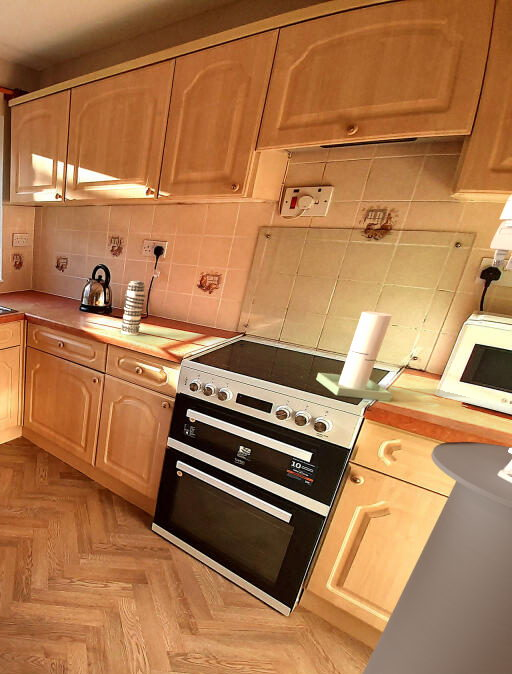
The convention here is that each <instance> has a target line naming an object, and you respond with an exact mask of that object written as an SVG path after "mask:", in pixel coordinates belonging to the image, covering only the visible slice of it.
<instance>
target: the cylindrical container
mask: <svg viewBox="0 0 512 674" xmlns="http://www.w3.org/2000/svg"><path fill="white" fill-rule="evenodd" d="M392 317H393V315H392V314H390V313H386V312H379V311H368V310H367V311H362V312H361V315H360V318H359V321H358V324H357V327H356V330H355V332H354V336H353V339H352V341H351V345H350V348H349V351H348V354H347V356H346V360H345V362H344V366H343V369H342V370H341V374H340V375H341V377H340V380H339V383H338V386H339V387H341V388H351V389H361V390H365V389H366V386H367V383H368V381H369V379H370V377H371V375H372V373H373V369H374V366H375V364H376V361H377V358H378V355H379V353H380V351H381V347H382V345H383V341H384V339H385V335H386V333H387V332H388V331H387V330H388V328H389V326H390V322H391V319H392Z"/></svg>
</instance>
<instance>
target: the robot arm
mask: <svg viewBox="0 0 512 674" xmlns="http://www.w3.org/2000/svg"><path fill="white" fill-rule="evenodd" d="M498 220H500V221H502V222H501V223H500V224H499V226H498V228H497V230H496V232H495V234H494V236H493V238H492V241H491V242H490V247H489V248H490V249H491V250H495V251H494V255H493V261H492V264H491V267H492V268H502V267H504V269H505V270H508V271H509V270H510V271H512V193H511V194H510V195H509V196H508V198H507V200H506V202H505V204H504V207H503V209H502V212H501V214H500V216H499V219H498ZM509 251H511V254H510V258H509V259H508V261H507V262H506V260H505V259H506V257H507V255H508V253H509ZM505 262H506V263H505ZM504 264H505V266H504ZM509 452H510V453H512V448H510V450H509ZM497 475H498V476H499V477H501V478H503V479H505V480H507V481H509V482H510V483H512V460H511V462H510V463H509V464H508V465H507V466H506V467H504V469H503V470H500V471H499V473H498V474H497Z"/></svg>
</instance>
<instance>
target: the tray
mask: <svg viewBox="0 0 512 674" xmlns="http://www.w3.org/2000/svg"><path fill="white" fill-rule="evenodd" d="M340 377H341V374H337V373H336V374H335V373H325V372H317V376H316V378H315V381H317V382H319V383H320V384H321V385H322V386H324V387H325V388H326V389H328V390H329V391H330V392H331V393H333V394H334V395H335V396H339V397H348V398H356V399H366V400H376V401H383V402H391V400H392V397H393V395H394V393H393V392H391V391H390V390H388V389H386V388H385V387H383V386H381V385H379V384H378V383H377V382H376V381H375V382H374V381H373V380H372V379H370V378H369V381H368V383H367V386H366V389H365V390H361V389H351V388H341V387H339V386H338V383H339V380H340Z"/></svg>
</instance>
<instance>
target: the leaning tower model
mask: <svg viewBox="0 0 512 674" xmlns="http://www.w3.org/2000/svg"><path fill="white" fill-rule="evenodd" d="M145 286H146V284H145V283H144V281H142V280H136V279H135V280H134V279H133V280H130V281H129V283H127V290H126V293H125V294H124V300H125V301H124V305H123V308H124V313H123V317H122V321H121V323H122V324H121V327H120V329H121V330H120V333H121V334H123V335H127V336H128V335H129V336H136V335H139V334H140V333H139V332H140V328H141V326H140V325H141V320H142V319H141V315H142V311H143V308H144V307H143V305H144V302H145V299H144V298H146V295H145V288H146V287H145Z"/></svg>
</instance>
